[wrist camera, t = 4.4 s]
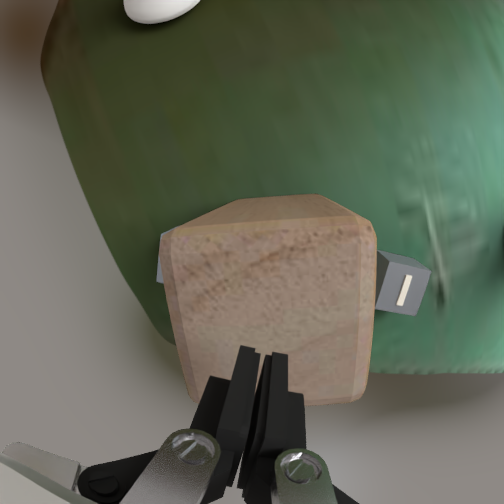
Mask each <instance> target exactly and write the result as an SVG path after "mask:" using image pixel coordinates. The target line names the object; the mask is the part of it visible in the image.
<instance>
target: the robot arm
mask: <svg viewBox="0 0 504 504" xmlns="http://www.w3.org/2000/svg"><path fill="white" fill-rule="evenodd" d="M255 349H256V348H252V347H248V346H243V345H240V348H239V352H238V355H237V359H236V363H235V366H234V370H233V374H232V377H231V380H228V379H224V378H219V377H215V376H211V375H210V377H209V379H208V381H207V384H206V387H205V389H204V392H203V395H202V397H201V400H200V403H199V405H198V408H197V411H196V413H195V416H194V418H193V421H192V424H191V426H190V429H182V430H178V431H176V432H174V433H172V434H171V435H170V436H169V437H168V438H167V439H166V441H165V442H164V443H163V445H162V446H161V448H160V449H159V450H155V451H152V452H148V453H145V454H141V455H137V456H134V457H129V458H125V459H121V460H117V461H112V462H107V463H103V464H98V465H94V466H91V467H85V466H82V465H80V463H79V462H77V461H74V460H70V459H67V458H64V457H61V456H58V455H55V454H52V453H49V452H46V451H43V450H41V449H38V448H35V447H33V446H30V445H28V444H25V443H20V442H16V443H11V444H9V445H7V446H6V447H5V449H4V450H3V452H2V453H0V504H209V503H210V502H213V501H215V500H217V499H219V498H222V497H223V494H224V491H225V488H226V486H229V487H232V485H233V481H234V478H235V475H236V472H237V469H238V466H239V463H240V460H241V457H242V462H241V468H240V473H239V479H238V484H237V488H240V489H243V494H242V497H243V498H244V501H245V502H246V503H247V504H359V503H357V502H356V501H355V500H353V499H352V498H350V497H349V496H348V495H346V494H345V493H344V492H342V491H341V490H339V489H338V488H337V487H335V486H334V485H333V484H332V482H331V478H330V475H329V471H328V468H327V465H326V463H325V461H324V460H323V459H322V458H321V457H320V456H319V455H317V454H316V453H314V452H312V451H309V450H306V429H305V408H304V395H303V393H296V392H290V391H288V354H283V353H277V352H272V354H271V355H265V358H264V362H263V366H262V370H261V373H260V377H259V381H258V385H257V388H256V383H257V376H258V370H259V363H260V356H261V353H256V352H255ZM255 390H256V392H255ZM242 453H243V456H242Z"/></svg>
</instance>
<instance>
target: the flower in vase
mask: <svg viewBox="0 0 504 504" xmlns="http://www.w3.org/2000/svg"><path fill="white" fill-rule="evenodd" d="M199 1H200V0H124V8H125V11H126V13H127V15H128V16H129V17H130V18H131V19H132V20H134V21H136V22H139V23H144V24H154V23H160V22H165V21H169V20H172V19H174V18H177V17H179V16H181V15H183V14H184V13H186V12H187V11H189V10H190V9H192V8H193V7H194V6H195V5H196V4H197V3H198V2H199Z"/></svg>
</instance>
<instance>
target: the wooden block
mask: <svg viewBox="0 0 504 504" xmlns="http://www.w3.org/2000/svg"><path fill="white" fill-rule="evenodd" d="M159 258H160V264H161V270H162V276H163V282H164V287H165V293H166V298H167V303H168V308H169V313H170V318H171V323H172V328H173V332H174V337H175V341H176V346H177V350H178V355H179V359H180V363H181V366H182V371H183V375H184V379H185V383H186V386H187V390H188V394H189V396H190V398H191V399H192V400H193V401H194V402H196V403H198V404H199V403H200V400H201V397H202V395H203V392H204V389H205V387H206V384H207V381H208V379H209V377H210V375H211V376H215V377H219V378H224V379H228V380H231V377H232V374H233V370H234V366H235V363H236V359H237V355H238V352H239V348H240V345H243V346H248V347H252V348H256V349H255V352H256V353H261V356H260V363H259V370H258V376H257V383H256V388H257V385H258V381H259V377H260V373H261V370H262V366H263V362H264V358H265V355H271V354H272V352H277V353H283V354H288V391H290V392H296V393H303V395H304V406H316V405H329V404H340V403H350V402H353V401H355V400H357V399H360V398H361V396H362V395H363V392H364V391H365V388H366V385H367V380H368V373H369V365H370V356H371V347H372V336H373V325H374V311H375V294H376V265H377V236H376V234H375V231H374V229H373V227H372V224H371V222H370V221H369V220H367V219H365V218H363V217H362V216H360V215H358V214H356V213H354V212H352V211H350V210H349V209H347V208H345V207H343V206H341V205H339V204H337V203H335V202H333V201H332V200H330V199H328V198H326V197H324V196H321V195H318V194H302V195H287V196H272V197H259V198H247V199H237V200H235V201H233V202H231V203H228V204H226V205H224V206H222V207H220V208H217V209H215V210H213V211H211V212H209V213H207V214H204V215H202V216H200V217H198V218H196V219H194V220H192V221H189V222H187V223H185V224H183V225H181V226H179V227H177V228H175V229H173V230H171V231H170V232H168V233H166V234H164V235H163V236H162V238H161V241H160V249H159ZM255 392H256V390H255Z"/></svg>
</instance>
